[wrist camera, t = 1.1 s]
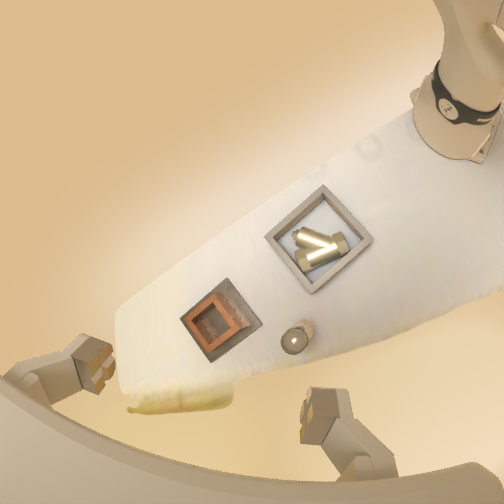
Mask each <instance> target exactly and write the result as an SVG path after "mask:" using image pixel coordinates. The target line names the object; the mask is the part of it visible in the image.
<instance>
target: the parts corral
mask: <svg viewBox="0 0 504 504" xmlns="http://www.w3.org/2000/svg"><path fill="white" fill-rule="evenodd" d="M324 199H325V200H326V201H327V202H328V203H329V204H330V206H331V207H332V208H333V209H334V210H335V211H336V212H337V213H338V214H339V215H340V216H341V218H342V219H343V220H344V221H345V222H346V223H347V224H348V225H349V226H350V228H351V229H352V230H353V231H354V232H355V233H356V234H357V236H358V237H359V238H360V239H361V240H362V241H361V242H360V243H359V244H358V245H357V246H356V247H355V248H353V249H352V250H351V251H350V252H349V253H348V254H347V255H346V256H344V257H343V258H342V259H341V260H340V261H339V262H338V263H336V264H335V265H334V266H333V267H332V268H331V269H330V270H328V271H327V272H326V273H325V274H324V275H323V276H321V277H320V278H319V279H318V280H317V281H315V282H314V283H312V282H311V281H310V279H309V278H308V277H307V276H306V274H305V273H303V272H302V270H301V269H300V267H299V266H298V265H297V263H296V262H295V261H294V260H293V259H292V257H291V256H290V255H289V254H288V253H287V251H286V250H285V249H284V248H283V247H282V245H281V244H280V243H279V242H278V241H277V240H278V239H280V238H281V237H282V236H283V235H284V234H285V233H286V232H288V231H289V230H290V229H291V228H292V227H293V226H294V225H296V224H297V223H298V222H299V221H300V220H301V219H302V218H304V217H305V216H306V215H307V214H308V213H309V212H310V211H312V210H313V209H314V208H315V207H316V206H317V205H318V204H319V203H321V202H322V201H323V200H324ZM264 238H265V239H266V240H267V241H268V242H269V244H270V245H271V246H272V247H273V249H274V250H275V251H276V252H277V253H278V255H279V256H280V257H281V258H282V259H283V261H284V262H285V263H286V264H287V266H288V267H289V268H290V269H291V270H292V272H293V273H294V274H295V275H296V277H297V278H298V279H299V280H300V281H301V283H302V284H303V285H304V286H305V288H306V289H307V290H308V291H309V293H310V294H313V293H314V292H315V291H317V290H318V289H319V288H320V287H321V286H322V285H324V284H325V283H326V282H327V281H328V280H330V279H331V278H332V277H333V276H334V275H335V274H337V273H338V272H339V271H340V270H341V269H342V268H343V267H345V266H346V265H347V264H348V263H349V262H350V261H351V260H353V259H354V258H355V257H356V256H357V255H358V254H359V253H360V252H362V251H363V250H364V249H365V248H366V247H367V246H368V245H369V244H370V243H371V242H372V241H373V238H372V237H371V235H370V234H369V233H368V232H367V231H366V230H365V229H364V227H363V226H362V225H361V224H360V223H359V222H358V221H357V220H356V218H355V217H354V216H353V215H352V214H351V213H350V212H349V211H348V210H347V209H346V207H345V206H344V205H343V204H342V203H341V202H340V201H339V200H338V199H337V198H336V197H335V196H334V195H333V194H332V193H331V192H330V190H329V189H328V188H327V187H326V186H325V185H324V184H323V185H322V186H321V187H320V188H318V189H317V190H316V191H315V192H314V193H313V194H312V195H310V196H309V197H308V198H307V199H306V200H305V201H304V202H302V203H301V204H300V205H299V206H298V207H297V208H296V209H294V210H293V211H292V212H291V213H290V214H289V215H288V216H286V217H285V218H284V219H283V220H282V221H281V222H280V223H278V224H277V225H276V226H275V227H274V228H273V229H272V230H270V231H269V232H268V233H267V234H266V235H265V236H264Z"/></svg>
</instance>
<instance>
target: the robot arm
mask: <svg viewBox="0 0 504 504" xmlns="http://www.w3.org/2000/svg"><path fill="white" fill-rule="evenodd" d="M433 1H434V3H435V5H436V7H437V9H438V11H439V13H440V15H441V18H442V21H443V24H444V31H445V36H444V45H443V51H442V55H441V59H440V60H439V61H438V62H437V64H436V66H435V67H434V70H433V72H432V73H431V74H430V75H428V76H425V78H424V79H423V82H422V84H421V87H420V88H417V89H415V90H413V91H412V92H411V94H410V97H411V100H412V103H413V105H414V122H415V125H416V128H417V130H418V132H419V134H420V136H421V137H422V138H423V140H424V141H425V142H426V143H427V144H428V145H429V146H430V147H431V148H432V149H433V150H435V151H436V152H438V153H439V154H441V155H443V156H445V157H448V158H452V159H469V160H472V161H474V162H477V163H482V162H483V161H484V159H485V157H486V155H487V152H488V150H489V148H490V145H491V143H492V140H493V138H494V135H495V133H496V130H497V127H498V125H499V122H500V119H501V114H500V112H499V108H500V105H501V101H502V99H503V98H504V42H503V41H502V40H501V38H500V37H499V36H498V34H497V33H496V31H495V30H494V28H493V26H492V24H493V25H494V24H495V21H496V24H495V25H496V26H498V27H499V28H500V29H502V30H503V31H504V0H433ZM497 16H498V17H497ZM496 19H497V20H496ZM480 151H481V152H482V153H481V152H480ZM112 352H113V348H112V345H111V344H110V343H107V342H104V341H101V340H99V339H97V338H94V337H90V336H88V335H86V334H80V335H79V336H78V337H76V338H75V339H74V340H73V341H72V342H71V343H70V344H69V345H68V346H67V347H66V348H65V349H64V350H63V351H62V352H59V351H58V352H54V353H51V354H47V355H43V356H40V357H36V358H33V359H29V360H26V361H22V362H18V363H17V364H15V365H14V366H13V367H12V368H11V369H10V370H9V371H8V372H7V373H6V374H5V375H4V376H3V377H2V376H1V375H0V504H504V489H503V486H502V484H501V482H500V480H499V478H498V477H497V476H496V475H494V474H493V473H492V472H490V471H489V470H487V469H486V468H485V467H483V466H482V465H480V464H478V463H476V462H470V463H465V464H462V465H458V466H454V467H450V468H446V469H441V470H437V471H432V472H427V473H422V474H416V475H411V476H404V477H399V476H398V472H397V468H396V463H395V459H394V455H393V453H392V452H391V451H390V450H389V449H388V448H387V447H386V446H385V445H384V444H383V443H382V442H381V441H379V440H378V439H377V438H376V437H375V436H374V435H373V434H372V433H371V432H370V431H369V430H368V429H367V428H366V427H365V426H364V425H363V424H362V423H361V422H360V421H359V420H357V419H353V413H352V408H351V403H350V398H349V393H348V390H347V389H336V388H335V389H334V388H321V387H309V389H308V391H307V399H306V400H304V402H303V405H302V408H301V414H300V423H301V424H302V427H301V430H300V443H301V444H311V445H321V447H322V449H323V450H324V451H325V453H326V454H327V456H328V457H329V459H330V460H331V461H332V463H333V464H334V466H335V467H336V468H337V470H338V471H339V473H340V474H341V476H340V477H339V478H338V479H337V480H336V481H335V482H311V481H291V480H278V479H269V478H260V477H253V476H246V475H239V474H233V473H227V472H222V471H217V470H212V469H207V468H203V467H199V466H195V465H191V464H186V463H183V462H179V461H176V460H172V459H169V458H165V457H162V456H159V455H156V454H153V453H150V452H147V451H144V450H141V449H138V448H135V447H132V446H130V445H127V444H124V443H122V442H120V441H117V440H115V439H112V438H110V437H108V436H105V435H103V434H100V433H98V432H96V431H94V430H92V429H90V428H87V427H86V426H83V425H81V424H79V423H77V422H75V421H73V420H71V419H69V418H68V417H66V416H64V415H62V414H60V413H58V412H57V411H55V410H53V409H52V406H51V405H52V404H54V403H56V402H59V401H61V400H63V399H65V398H67V397H69V396H71V395H73V394H75V393H77V392H79V391H81V390H82V389H84V390H87V391H89V392H92V393H94V394H97V395H99V394H100V392H101V391H102V389H103V388H104V387H105V381H106V380H109V379H111V377H112V376H113V374H114V371H115V359H114V358H113V356H112V355H111V354H112Z"/></svg>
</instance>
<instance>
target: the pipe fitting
mask: <svg viewBox="0 0 504 504" xmlns="http://www.w3.org/2000/svg"><path fill="white" fill-rule="evenodd" d="M292 236H293V237H294V238H293V239H294V240H295V241H296V246H298V247H300V248H302V249H299V250H297V251H295V256H296V259H297V262H298V264H299V266H300V269H301V270H302V272H303V273H306V272H308V271H311V270H312V269H313V268H315V267H317V266H319V265H322V264H324V263H326V262H328V261H331V260H333V259H335V258H338V257H340V256H341V257H343V256H345V255H347V254H348V253H349V252H350V250H349V247H348V244H347V242H346V240H345V238H344V236H343V234H342V232H338V233H336V234H333V235H332V237H330V236H328V235H325V234H322V233H320V232H317V231H314V230H312V229H309V228H306V227H302V228H301V229H300V230H298V229H297V230H296V231H293V233H292Z"/></svg>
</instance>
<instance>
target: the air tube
mask: <svg viewBox="0 0 504 504" xmlns="http://www.w3.org/2000/svg"><path fill="white" fill-rule="evenodd" d="M313 333H314V326H313V324H312V323H311V322H310V321H308V320H302V321H299V322H298V323H297V324H296V325H294V326H293V327H292V328H291V329H289V330H288V331H287V332H286V333H285V334H284V335H283V336H282V339H281V346H282V348H283V350H284V351H285V352H286V353H288V354H291V355H296V354H299V353H301V352H302V351H303V350H304V349H305V347H306V346H307V344H308V342H309V340H310V339H311V337H312V335H313Z"/></svg>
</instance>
